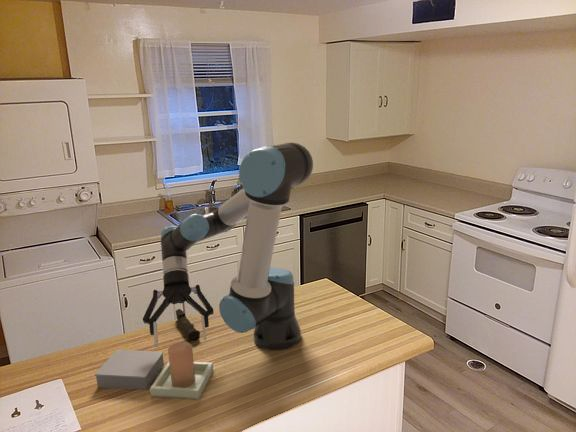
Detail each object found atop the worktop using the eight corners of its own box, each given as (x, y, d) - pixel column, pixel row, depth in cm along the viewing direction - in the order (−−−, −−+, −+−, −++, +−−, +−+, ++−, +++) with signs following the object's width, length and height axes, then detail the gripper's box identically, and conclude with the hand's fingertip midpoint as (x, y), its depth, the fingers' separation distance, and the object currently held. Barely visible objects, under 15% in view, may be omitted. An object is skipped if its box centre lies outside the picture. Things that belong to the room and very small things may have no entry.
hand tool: (201, 340, 148) (199, 327, 147) (188, 344, 146) (187, 331, 145) (185, 317, 165) (184, 305, 163) (174, 320, 163) (173, 308, 162)
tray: (213, 370, 131) (212, 362, 131) (198, 399, 119) (198, 390, 118) (170, 368, 133) (169, 360, 133) (151, 396, 121) (150, 388, 120)
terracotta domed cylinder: (198, 374, 129) (195, 342, 126) (190, 388, 123) (187, 355, 120) (176, 373, 130) (173, 341, 127) (168, 387, 123) (164, 354, 121)
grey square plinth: (164, 364, 135) (163, 351, 134) (146, 390, 123) (144, 376, 122) (118, 362, 137) (117, 349, 136) (96, 387, 125) (94, 374, 124)
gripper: (216, 274, 148) (224, 339, 137) (135, 283, 142) (137, 352, 132) (216, 264, 141) (224, 331, 131) (131, 274, 136) (133, 345, 126)
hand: (180, 342), depth 132 cm, fingers open, 13 cm apart
